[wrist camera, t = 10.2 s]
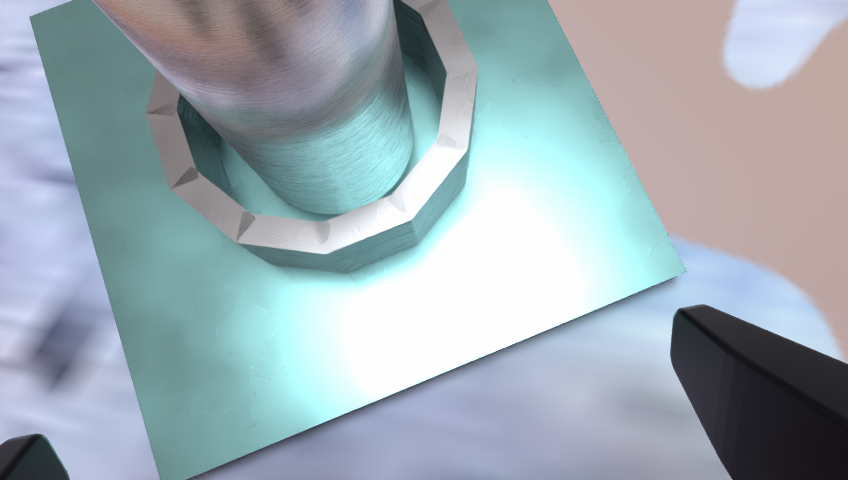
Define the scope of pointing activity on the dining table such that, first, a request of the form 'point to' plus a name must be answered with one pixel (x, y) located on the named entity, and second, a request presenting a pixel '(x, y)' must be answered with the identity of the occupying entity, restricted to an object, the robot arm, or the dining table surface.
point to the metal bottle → (288, 88)
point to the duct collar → (346, 229)
